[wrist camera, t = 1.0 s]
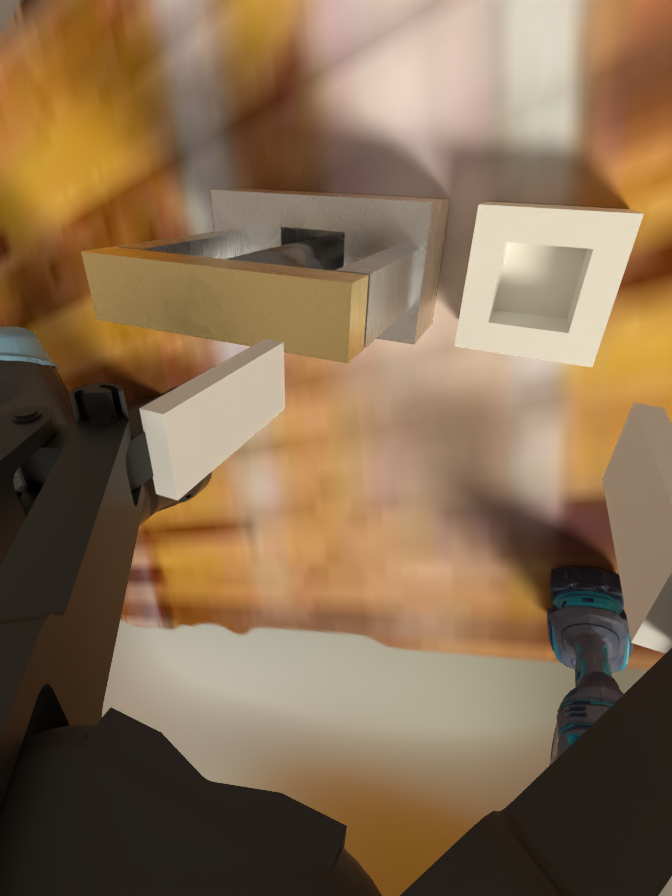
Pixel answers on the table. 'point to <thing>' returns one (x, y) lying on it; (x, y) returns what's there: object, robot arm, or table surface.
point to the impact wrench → (587, 646)
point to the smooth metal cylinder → (303, 253)
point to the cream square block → (544, 279)
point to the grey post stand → (365, 247)
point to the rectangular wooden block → (231, 300)
